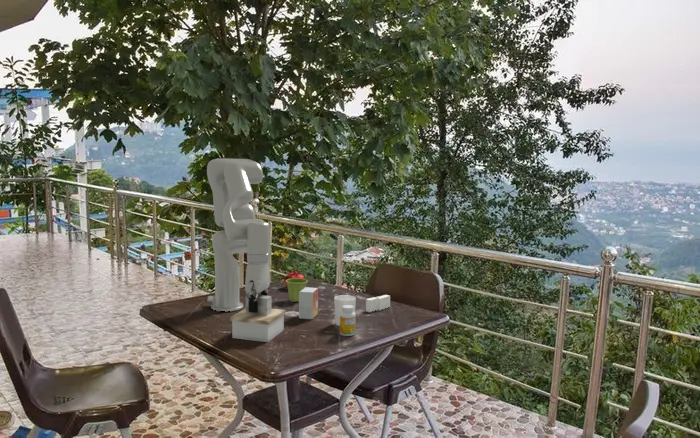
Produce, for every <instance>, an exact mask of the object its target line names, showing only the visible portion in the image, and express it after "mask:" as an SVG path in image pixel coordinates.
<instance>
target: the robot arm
mask: <svg viewBox="0 0 700 438" xmlns="http://www.w3.org/2000/svg"><path fill="white" fill-rule="evenodd" d="M263 171H264V170H263V168H262V166H261V165H260V163H259V162H257V161H255V160H252V159H248V158H214V159H212V160H210V161H208V163H207V165H206V176H207V180H208V183H209V185H210V188H211V191H212V197H213V198H212V199H213V200H212V201H213V216H214V221H215V224H216V226H219V227H220V228H221V227H222V228H224V230H219V231H217V232H215V233H214V234H213V236H212V238H211V243H212V249H213V255H214V257H213V258H214V293H215V294H214V295H208V296H207V300H206V301H207V302H210V303H212V304H211V306H210V307H211V310H212V309H213V310H212V311H215V310H216V311H215V312H220V311H225V312H226V313H227V312H228V311H230V312H235V311H239V310H240V311H241V309H242V310H243V308H244V303H243V302H241V301H240V264H239V262H238V260H237V259H236V258H235V256H234V255H236V254H246V255H247V256H246V257H247V258H246V261H247V262H246V263H247V265H246V270H245V279H244V280H245V281H244V283H245V284H244V289H245V294H246V296H247V298H248V301H249V312H253V313H257V312H258V301H257V297H258V295H264V296H269V294H270V292H269V289H270V284H271V280H270V279H271V276H270V275H271V273H270V272H271V271H270V262H271V255H270V251H271V249H270V242H271V239H270V238H271V236H270V234H271V232H270V231H271V230H270V229H271V227H270V224H269V223H268V222H266V221H265V220H263V219H261V218H256V215H255V214H256V213H255V210H254V207H253V205H252V204H250V202H251V201H252V200H253V199H254V192H253V188H252V185H258V184H260V183H261V182H262V181H263V178H264V173H263ZM253 294H254V295H255V297H254V295H253ZM225 312H224V313H225ZM228 313H229V312H228Z"/></svg>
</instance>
